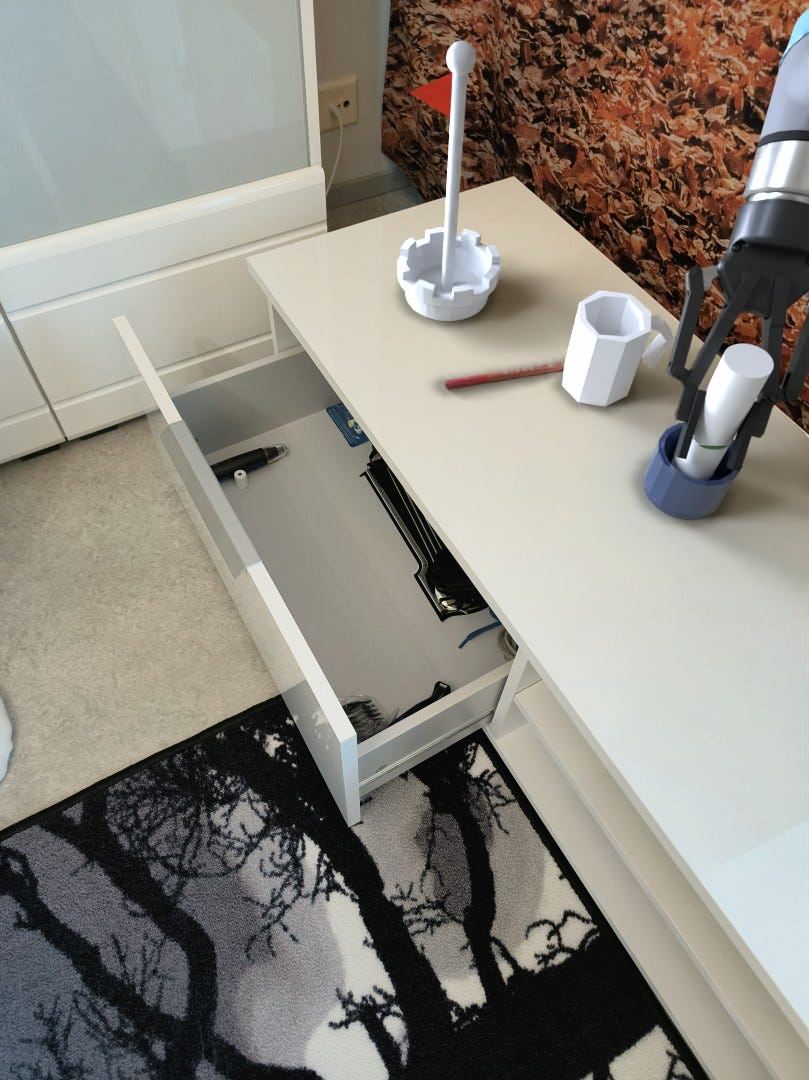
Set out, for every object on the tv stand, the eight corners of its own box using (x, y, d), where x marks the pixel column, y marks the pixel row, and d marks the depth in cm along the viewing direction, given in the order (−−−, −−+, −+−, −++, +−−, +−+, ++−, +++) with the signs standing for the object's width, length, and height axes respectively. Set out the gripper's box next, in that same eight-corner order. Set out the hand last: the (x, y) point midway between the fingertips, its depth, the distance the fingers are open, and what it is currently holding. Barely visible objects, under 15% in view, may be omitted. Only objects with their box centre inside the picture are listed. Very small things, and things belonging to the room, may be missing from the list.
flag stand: (499, 266, 101) (531, 16, 76) (492, 331, 94) (525, 79, 69) (405, 257, 102) (405, 8, 77) (390, 321, 95) (386, 69, 70)
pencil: (445, 390, 88) (446, 384, 88) (443, 384, 89) (444, 378, 88) (596, 366, 91) (597, 361, 90) (593, 360, 91) (594, 355, 90)
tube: (663, 466, 78) (714, 360, 65) (686, 444, 79) (740, 336, 67) (698, 490, 76) (757, 385, 63) (721, 467, 78) (783, 360, 65)
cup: (734, 481, 81) (756, 446, 76) (701, 532, 77) (722, 499, 72) (663, 446, 84) (680, 409, 79) (629, 494, 80) (644, 458, 75)
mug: (573, 411, 87) (591, 346, 78) (551, 360, 91) (566, 294, 83) (670, 397, 88) (697, 333, 80) (644, 347, 92) (667, 281, 84)
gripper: (870, 234, 68) (788, 480, 74) (679, 201, 71) (613, 440, 76) (907, 215, 61) (813, 489, 66) (693, 179, 64) (619, 445, 69)
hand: (706, 462), depth 71 cm, fingers closed on tube, 4 cm apart
